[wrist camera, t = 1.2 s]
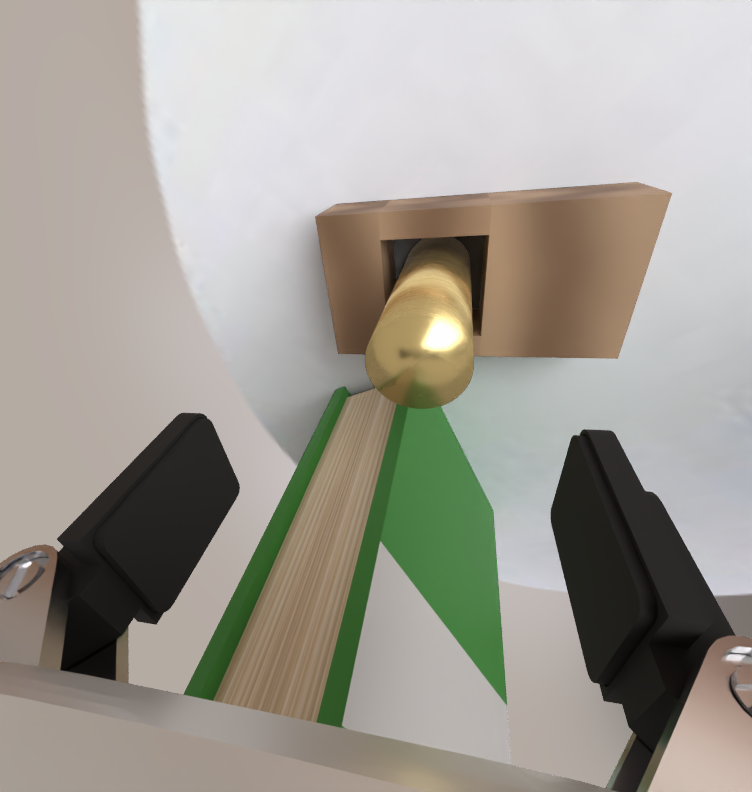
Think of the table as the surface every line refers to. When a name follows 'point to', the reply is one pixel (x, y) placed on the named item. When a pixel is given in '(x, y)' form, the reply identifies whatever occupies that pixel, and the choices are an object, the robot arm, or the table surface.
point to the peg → (426, 328)
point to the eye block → (506, 264)
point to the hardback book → (373, 590)
